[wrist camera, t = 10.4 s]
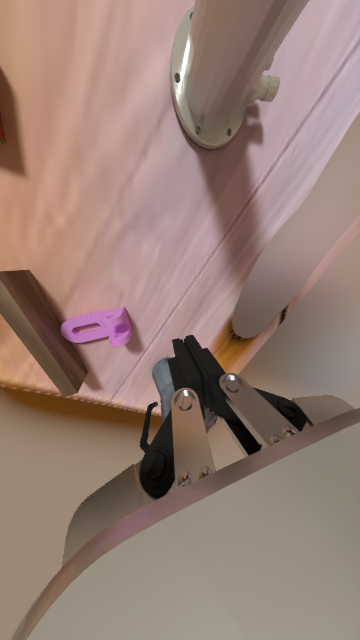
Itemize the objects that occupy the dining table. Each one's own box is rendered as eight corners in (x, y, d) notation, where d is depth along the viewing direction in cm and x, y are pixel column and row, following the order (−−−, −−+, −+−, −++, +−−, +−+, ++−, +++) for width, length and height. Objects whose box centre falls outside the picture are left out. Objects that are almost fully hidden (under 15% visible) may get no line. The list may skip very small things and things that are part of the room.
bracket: (124, 306, 29) (120, 317, 23) (131, 328, 32) (129, 343, 26) (58, 319, 27) (34, 336, 21) (71, 342, 29) (53, 363, 23)
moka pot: (193, 371, 43) (230, 447, 25) (147, 390, 40) (152, 490, 23) (186, 348, 38) (226, 421, 21) (134, 369, 36) (129, 470, 19)
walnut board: (29, 269, 23) (-5, 271, 17) (87, 371, 33) (77, 392, 28) (11, 272, 22) (-29, 274, 17) (76, 375, 32) (64, 397, 27)
